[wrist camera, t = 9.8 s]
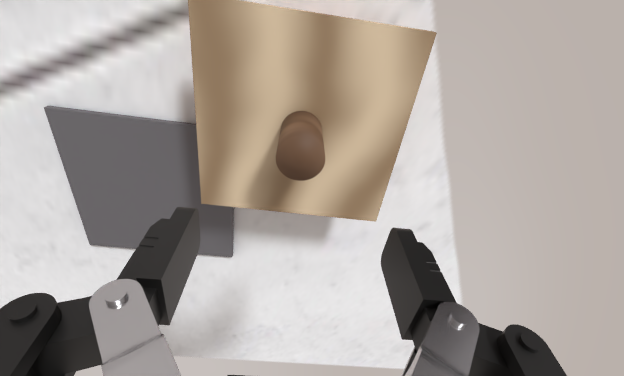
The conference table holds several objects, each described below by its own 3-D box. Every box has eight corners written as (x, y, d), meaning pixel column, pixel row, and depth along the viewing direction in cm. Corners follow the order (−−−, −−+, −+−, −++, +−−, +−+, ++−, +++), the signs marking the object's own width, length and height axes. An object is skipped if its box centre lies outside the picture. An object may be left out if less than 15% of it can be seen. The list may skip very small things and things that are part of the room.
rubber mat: (92, 241, 35) (89, 244, 35) (48, 105, 27) (43, 107, 26) (233, 254, 37) (232, 257, 36) (233, 129, 28) (232, 131, 28)
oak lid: (204, 198, 26) (183, 240, 22) (191, -8, 18) (155, -8, 14) (374, 215, 28) (387, 259, 23) (432, 31, 20) (469, 43, 15)
